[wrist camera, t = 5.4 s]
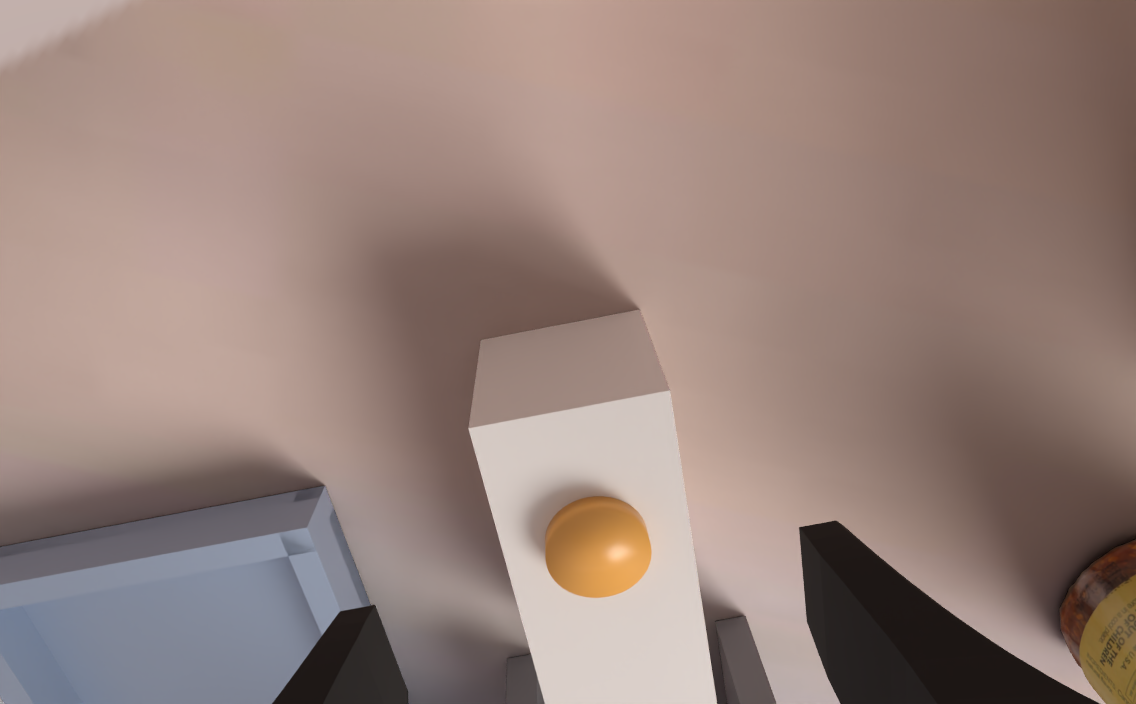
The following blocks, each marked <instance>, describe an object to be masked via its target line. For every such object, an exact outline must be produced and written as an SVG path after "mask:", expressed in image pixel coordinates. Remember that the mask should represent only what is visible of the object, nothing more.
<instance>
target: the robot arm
mask: <svg viewBox="0 0 1136 704" xmlns="http://www.w3.org/2000/svg"><path fill="white" fill-rule="evenodd" d="M799 531H800V543H801V555H802V567H803V579H804V591H805V603H806V616H807V623H808V625H809V628H810V631H811V634H812V636H813V639H814V642H815V645H816V648H817V650H818V653H819V656H820V658H821V661H822V664H823V666H824V669H825V671H826V674H827V677H828V679H829V681H830V683H831V685H832V687H833V689H834V691H835V693H836V695H837V697H838V699H839V701H840V703H841V704H1099V703H1097V702H1095V701H1094V700H1092V699H1090V698H1088V697H1086V696H1084V695H1082V694H1080V693H1078V692H1076V691H1074V690H1072V689H1071V688H1069V687H1067V686H1065V685H1063V684H1061V683H1060V682H1058V681H1056V680H1054V679H1052V678H1051V677H1049V676H1047V675H1046V674H1044V673H1042V672H1041V671H1039V670H1037V669H1035V668H1034V667H1032V666H1030V665H1029V664H1027V663H1025V662H1024V661H1022V660H1020V659H1019V658H1017V657H1015V656H1014V655H1012V654H1011V653H1009V652H1007V651H1006V650H1004V649H1003V648H1001V647H1000V646H998V645H997V644H995V643H994V642H992V641H991V640H989V639H987V638H986V637H985V636H983V635H982V634H980V633H979V632H977V631H976V630H974V629H973V628H972V627H970V626H969V625H967V624H966V623H964V622H963V621H961V620H960V619H959V618H957V617H956V616H954V615H953V614H952V613H950V612H949V611H948V610H946V609H945V608H943V607H942V606H941V605H939V604H938V603H937V602H936V601H934V600H933V599H932V598H930V597H929V596H928V595H926V594H925V593H924V592H923V591H921V590H920V589H919V588H917V587H916V586H915V585H913V584H912V583H911V582H910V581H908V580H907V579H906V578H905V577H903V576H902V575H901V574H900V573H898V572H897V571H896V570H895V569H893V568H892V567H891V566H890V565H889V564H887V563H886V562H885V561H884V560H883V559H881V558H880V557H879V556H878V555H877V554H875V553H874V552H873V551H872V550H871V549H870V548H868V547H867V546H866V545H865V544H864V543H863V542H861V541H860V540H859V539H858V538H857V537H856V536H855V535H853V534H852V533H851V532H850V531H849V530H848V529H847V528H845V527H844V526H843V525H842V524H840V523H839V522H837V521H831V522H826V523H820V524H815V525H809V526H804V527H799ZM407 703H408V691H407V688H406V685H405V683H404V680H403V677H402V675H401V672H400V670H399V667H398V664H397V662H396V659H395V656H394V654H393V651H392V648H391V646H390V643H389V641H388V638H387V635H386V633H385V630H384V627H383V625H382V622H381V619H380V617H379V614H378V612H377V609H376V606H375V605H371V606H366V607H360V608H355V609H349V610H344V611H340V612H339V613H338V615H337V616H336V617H335V619H334V620H333V621H332V623H331V624H330V625H329V627H328V628H327V629H326V631H325V632H324V634H323V635H322V636H321V638H320V639H319V640H318V642H317V643H316V644H315V646H314V647H313V649H312V650H311V651H310V653H309V654H308V656H307V657H306V658H305V660H304V661H303V662H302V664H301V665H300V667H299V668H298V669H297V671H296V672H295V673H294V675H293V676H292V678H291V679H290V680H289V682H288V683H287V684H286V686H285V687H284V688H283V690H282V691H281V692H280V694H279V695H278V696H277V698H276V699H275V700H274V702H273V703H272V704H407Z"/></svg>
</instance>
